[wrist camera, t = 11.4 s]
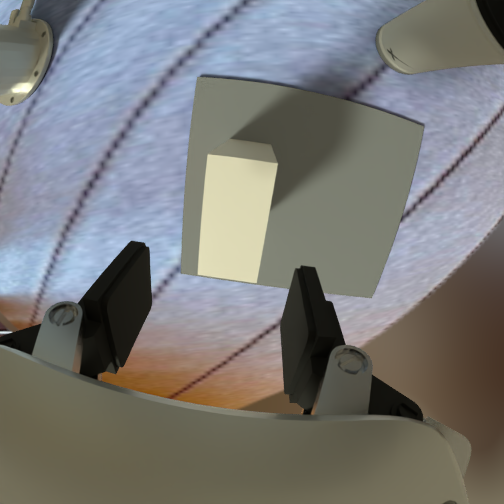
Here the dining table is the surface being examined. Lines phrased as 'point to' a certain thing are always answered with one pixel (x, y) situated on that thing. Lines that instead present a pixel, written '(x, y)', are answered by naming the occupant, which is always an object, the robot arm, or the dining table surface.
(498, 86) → the dining table surface
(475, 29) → the travel mug
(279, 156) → the mat
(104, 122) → the dining table surface
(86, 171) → the dining table surface
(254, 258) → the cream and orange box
